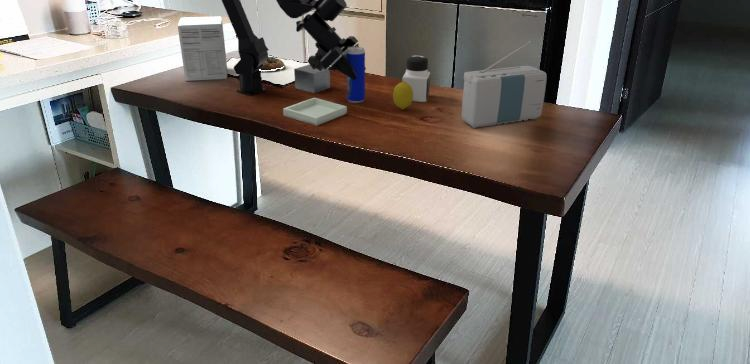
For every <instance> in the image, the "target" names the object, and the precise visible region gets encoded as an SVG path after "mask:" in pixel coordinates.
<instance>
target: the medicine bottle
mask: <svg viewBox="0 0 750 364" xmlns="http://www.w3.org/2000/svg"><path fill="white" fill-rule="evenodd" d="M428 62H429V60H428V58H427V57H426V56H422V55H411V56H409V57H407V59H406V70H405V73H404V74H403V76H402V82H403V81H404V82H405V83H407V84H409V85H410V86H411V88H412V91H413V100H412V102H418V103H427V101H428V99H429V97H430V96H429V95H430V86H431V85H430V84H431V72H430V71H428V68H429V67H428V66H429V65H428Z"/></svg>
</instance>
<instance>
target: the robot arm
mask: <svg viewBox="0 0 750 364" xmlns="http://www.w3.org/2000/svg"><path fill="white" fill-rule="evenodd" d="M275 1H276V3H277V4H278V6H279V8H280V9H281V10H282V11H283V12H284V14H285V15H286V16H287V17H289V18H290V19H299V18H301V17H302V16H303V17H304V18H302V19H301V20H300V19H299V20H298V21H296V22H295V23H296V30H295V32H298V33H299V32H300V31H303V30H305V31H306V33H308V35H309V36H310V37H311V38H312V39H313V40H314V41H315V43H314V46H315V47H316V49H317V51H316V53H314V55H310V56H309V57H308V59H307V62H308V65H309V64H310V66H311V67H312V69H318V70H320V71H322V69H325V70H326V69H327V68H329V69H328V70H330V71H338V72H340V73H342V74H344V75H345V76H346V77H347V76H348V77H350V78H352V79H353V80H355V79H356V78H357V76H356V73H355V71H354V69H353V67H352V65H351V64H350V62H349V59H348V58H347V56H346V52H347V48H349V47H360V45H359V43H358V42H359V39H357V38H356V37H355V36H352V35H350V36H348V37H346V38H345V37H343V38H342V37H341V36H340V35H339V34H338V33H337V32H336V30H337V28H336V27H335V26H333V27H331V26H330V24H329V23H328V21H330V22H334V21H335V20H336V19H337V18H338V16H339V15H340V14H341V13H342V12H343V11H344V10H345V9H347V7H348V5H347V2H346V1H345V0H275ZM221 2H222V6H223V7H224V9H225V12H226V14H227V16H228V20H229V22H230V24H231V26H232V28H233V30H234V34H235V35H236V38H237V40H238V41H237V43H238V45H237V47H238V48H237V49H238V55H239V58H240V59H239V60H238V61H237V63H235V65H234V66H233V70H234V72H235V74H236V75H238V78H239V79H238V80H239V87H240V88H237V89H236V92H238V93H241V94H244V95H248V96H253V95H256V94H260V93H262V92H265V91H266V92H267V89H266V87H263V78H262V72H261V71H259V69H261V68H263V64H264V63H265V62H266V61H267V58H268V57H269V53H268V51H269V50H270V49H269V48H268V47H267V45H266V42H265V38H264V37H263V36H262V37H259V38H258V36H256V35H255V33H254V31H253V29H252V27H251V24H250V21H249V19H248V16H247V14H246V11H245V9H244V7H243V5H242V2H241V0H221ZM312 11H314V12H313V13H312V14H309V13H310V12H312ZM366 70H367V67H365V71H366Z"/></svg>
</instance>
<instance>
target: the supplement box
mask: <svg viewBox="0 0 750 364" xmlns="http://www.w3.org/2000/svg"><path fill="white" fill-rule="evenodd" d="M223 24H224V23H223V18H222V16H219V15H218V16H217V15H216V16H193V17H192V16H191V17H190V16H188V17H180V19H179V21H178V24H177V30H178V39H179V43H180V51H181V52H180V53H181V58H182V65H183V72H184V73H183V74H184V79H185V82H189V81H190V82H191V81H207V80H208V81H210V80H211V81H212V80H226V79H228V64H227V56H226V55H227V54H226V47H225V44H226V43H225V34H224V33H225V32H224V26H223Z"/></svg>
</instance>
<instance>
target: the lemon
mask: <svg viewBox="0 0 750 364" xmlns="http://www.w3.org/2000/svg"><path fill="white" fill-rule="evenodd" d="M392 100H393V103H394V105H395V106H396V107H398V108H399V109H400V110H405V109H406V108H408V107H410V106H411V105H412V102H413V101H412V100H413V91H412V88H411V86H410V85H409V84H407V83H405V82H404V81H403V80H402V81H401V82H399V83H398V84H396V85H395V87H394V88H393V93H392Z"/></svg>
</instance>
